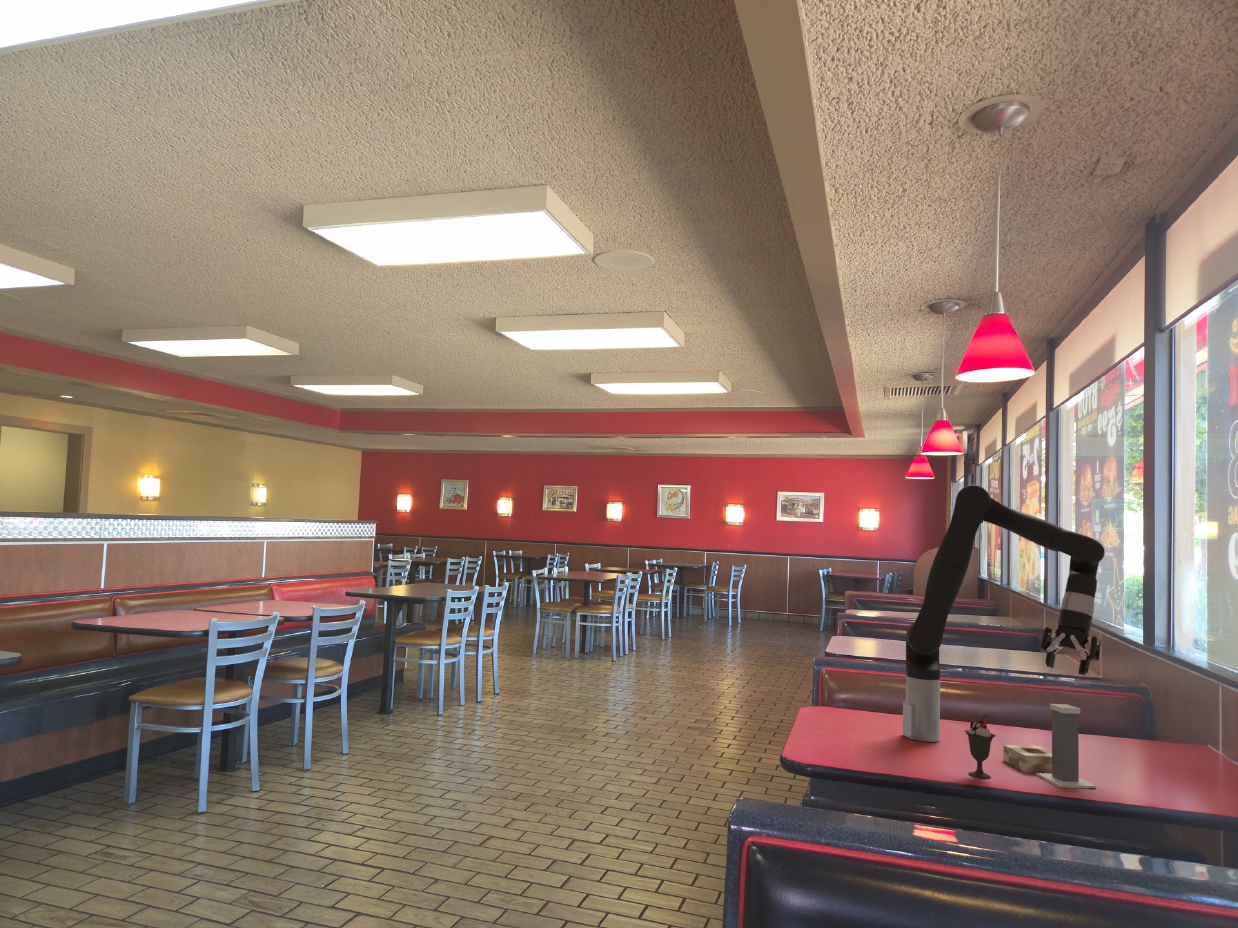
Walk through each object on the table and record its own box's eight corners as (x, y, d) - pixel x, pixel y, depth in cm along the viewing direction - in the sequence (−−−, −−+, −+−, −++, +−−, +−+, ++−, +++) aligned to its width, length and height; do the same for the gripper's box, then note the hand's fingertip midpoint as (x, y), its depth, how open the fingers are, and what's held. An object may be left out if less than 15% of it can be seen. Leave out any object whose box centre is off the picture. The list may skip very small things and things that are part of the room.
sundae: (993, 781, 183) (993, 717, 184) (962, 776, 186) (963, 712, 188) (996, 775, 188) (996, 712, 190) (966, 769, 192) (967, 708, 193)
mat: (1058, 787, 181) (1058, 784, 181) (1036, 775, 190) (1036, 772, 190) (1095, 788, 181) (1095, 785, 182) (1072, 776, 190) (1072, 774, 190)
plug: (1062, 781, 184) (1062, 707, 185) (1050, 775, 188) (1049, 703, 190) (1080, 782, 184) (1080, 708, 186) (1067, 775, 189) (1067, 704, 190)
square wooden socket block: (1024, 771, 193) (1024, 755, 193) (1003, 760, 203) (1003, 744, 203) (1063, 773, 193) (1063, 756, 193) (1040, 761, 203) (1040, 746, 203)
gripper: (1043, 604, 212) (1031, 662, 210) (1096, 612, 200) (1085, 674, 197) (1058, 610, 216) (1047, 667, 213) (1111, 619, 204) (1100, 680, 201)
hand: (1065, 670), depth 205 cm, fingers open, 8 cm apart
